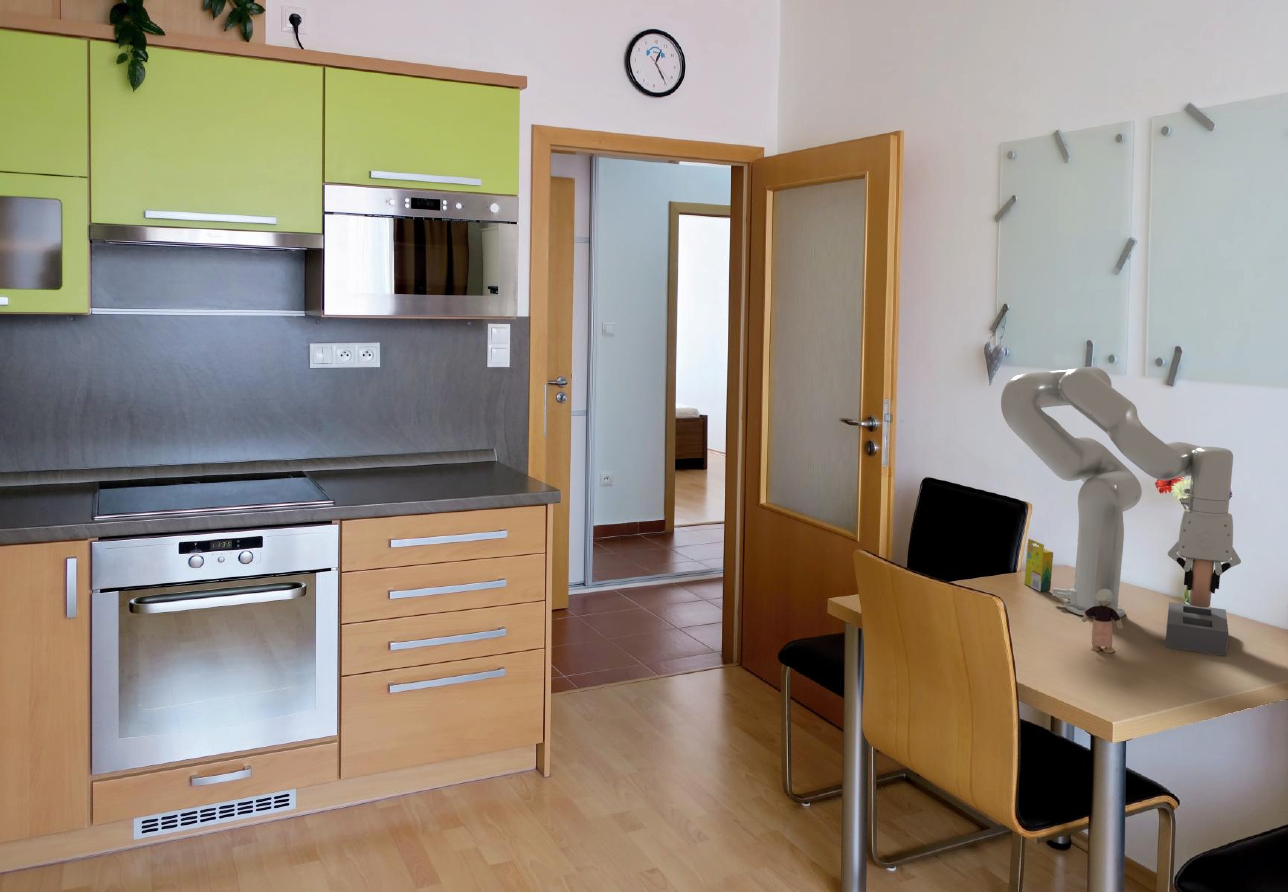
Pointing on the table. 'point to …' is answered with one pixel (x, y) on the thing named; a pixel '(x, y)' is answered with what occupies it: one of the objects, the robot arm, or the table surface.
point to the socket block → (1197, 629)
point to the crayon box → (1038, 567)
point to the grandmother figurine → (1102, 621)
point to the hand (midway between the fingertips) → (1200, 589)
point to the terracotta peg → (1201, 583)
